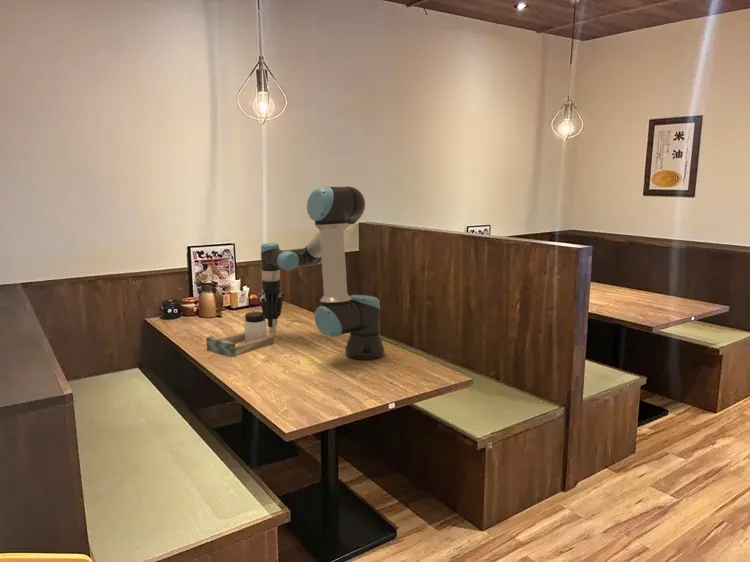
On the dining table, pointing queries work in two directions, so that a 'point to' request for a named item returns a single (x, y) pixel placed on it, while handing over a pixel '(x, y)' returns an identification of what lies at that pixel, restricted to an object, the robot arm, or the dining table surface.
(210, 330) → the dining table surface
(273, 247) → the robot arm
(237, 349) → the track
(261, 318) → the jar
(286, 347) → the dining table surface
